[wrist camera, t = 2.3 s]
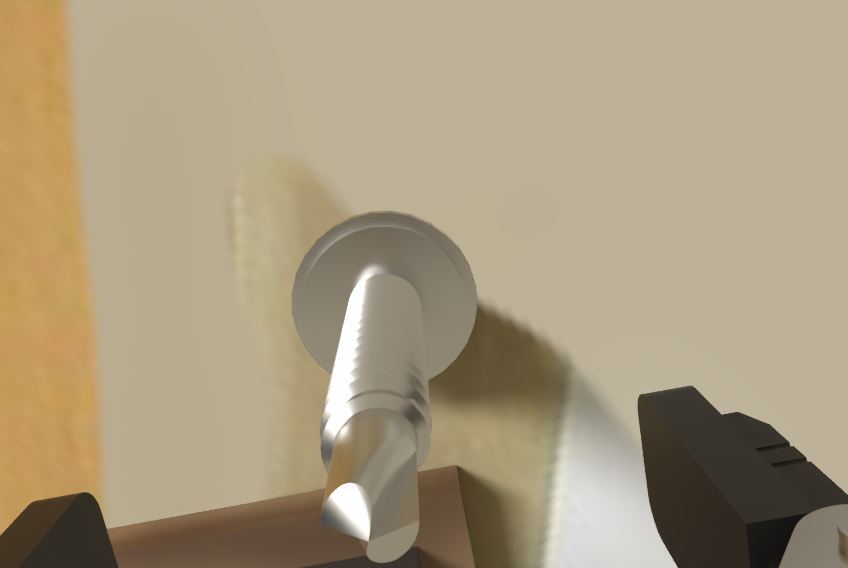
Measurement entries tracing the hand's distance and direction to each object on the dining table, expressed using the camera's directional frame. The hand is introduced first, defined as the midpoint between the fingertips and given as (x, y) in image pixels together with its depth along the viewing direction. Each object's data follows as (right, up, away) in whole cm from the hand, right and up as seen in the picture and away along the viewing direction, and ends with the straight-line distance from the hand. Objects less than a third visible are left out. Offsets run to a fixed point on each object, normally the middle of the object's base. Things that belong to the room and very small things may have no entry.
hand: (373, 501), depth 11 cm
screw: (0, +3, +11) cm, 12 cm away
